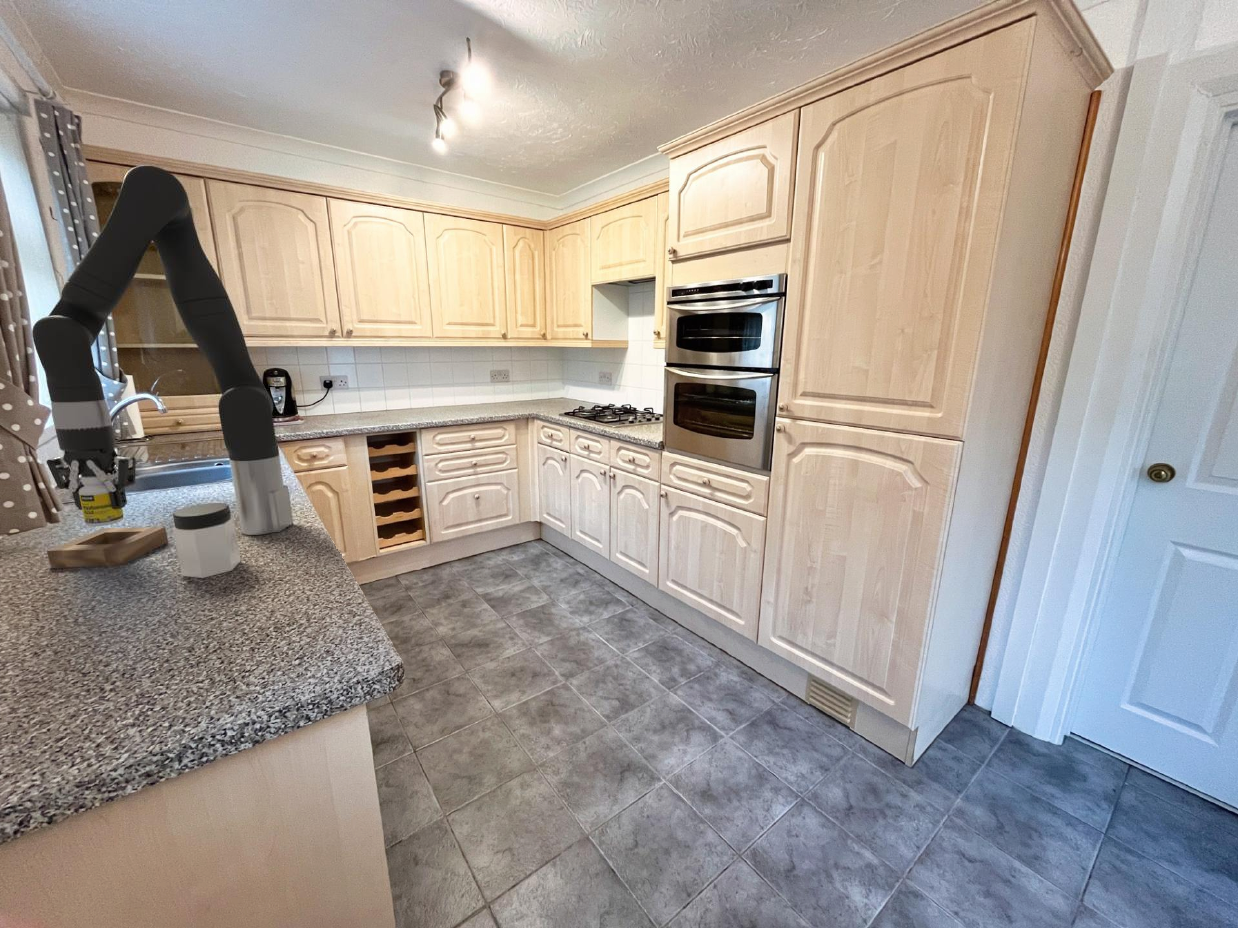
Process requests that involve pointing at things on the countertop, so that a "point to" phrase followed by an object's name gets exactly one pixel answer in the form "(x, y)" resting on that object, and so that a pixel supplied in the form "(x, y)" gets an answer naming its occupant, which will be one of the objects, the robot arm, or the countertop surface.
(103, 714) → the countertop surface
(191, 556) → the jar
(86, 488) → the supplement bottle
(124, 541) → the socket block
